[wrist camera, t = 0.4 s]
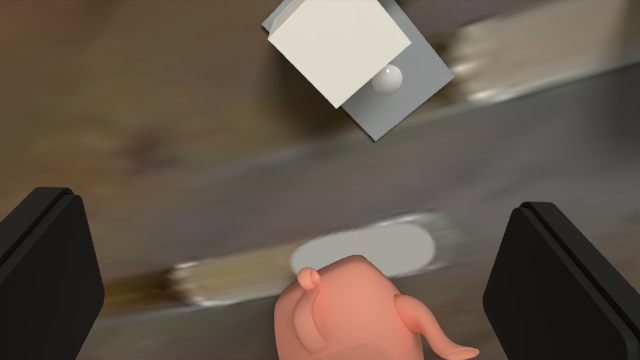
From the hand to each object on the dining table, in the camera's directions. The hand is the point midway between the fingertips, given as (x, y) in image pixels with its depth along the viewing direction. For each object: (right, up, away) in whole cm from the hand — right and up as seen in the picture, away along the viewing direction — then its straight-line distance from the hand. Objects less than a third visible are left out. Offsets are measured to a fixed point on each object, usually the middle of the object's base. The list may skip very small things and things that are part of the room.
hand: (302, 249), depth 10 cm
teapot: (+3, -11, +37) cm, 38 cm away
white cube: (+1, +13, +22) cm, 25 cm away
